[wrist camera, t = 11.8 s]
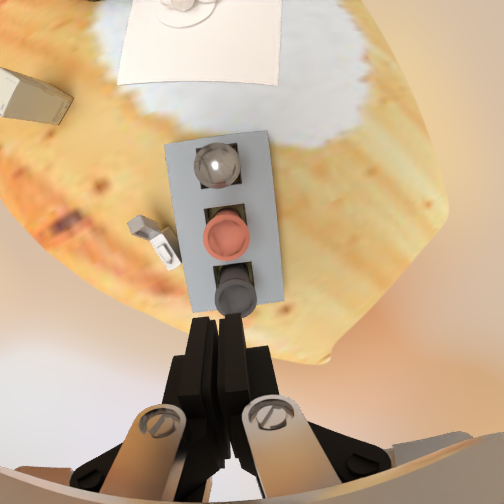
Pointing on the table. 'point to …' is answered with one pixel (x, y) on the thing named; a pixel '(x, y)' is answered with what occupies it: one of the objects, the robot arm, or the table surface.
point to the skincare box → (31, 99)
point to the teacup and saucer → (186, 3)
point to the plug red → (226, 235)
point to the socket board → (245, 192)
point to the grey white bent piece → (158, 240)
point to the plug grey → (217, 165)
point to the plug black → (235, 291)
